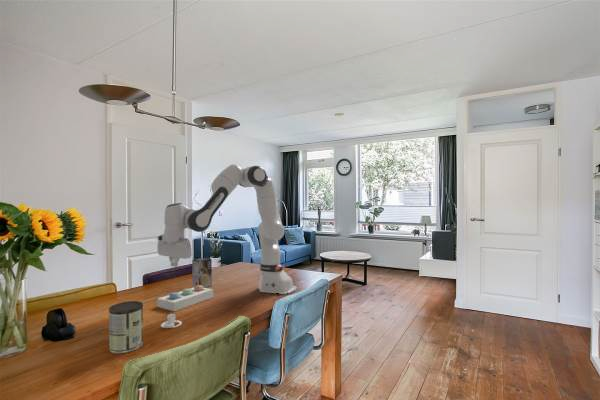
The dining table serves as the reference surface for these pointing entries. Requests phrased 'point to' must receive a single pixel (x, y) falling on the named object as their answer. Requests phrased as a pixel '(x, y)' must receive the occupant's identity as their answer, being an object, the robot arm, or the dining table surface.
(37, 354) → the dining table surface
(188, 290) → the sage button
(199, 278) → the coffee box
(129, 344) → the coffee can
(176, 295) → the blue button
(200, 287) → the terracotta button
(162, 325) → the teacup and saucer
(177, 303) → the button panel
